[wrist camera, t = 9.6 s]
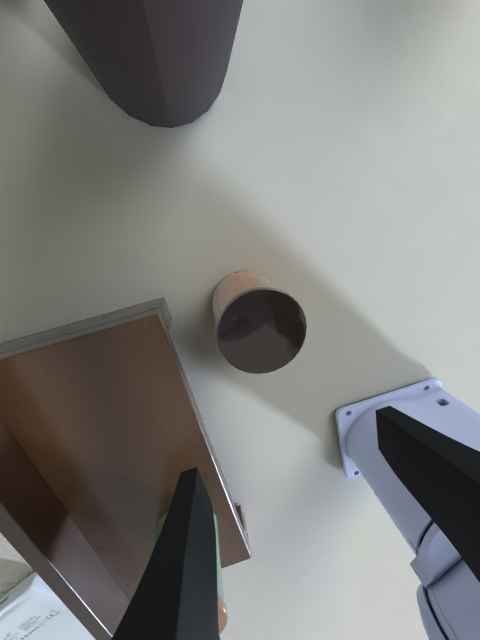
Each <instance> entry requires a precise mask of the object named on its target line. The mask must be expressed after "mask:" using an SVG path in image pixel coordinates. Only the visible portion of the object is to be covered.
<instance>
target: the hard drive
mask: <svg viewBox="0 0 480 640" xmlns="http://www.w3.org/2000/svg"><path fill="white" fill-rule="evenodd" d="M0 640H96V639H95V638H94V637H93V636H92V635H91V634H90V633H89V632H88V630H87V629H86V628H85V627H84V626H83V625H82V624H81V623H80V621H79V620H78V619H77V618H76V617H75V616H74V615H73V614H72V612H71V611H70V610H69V609H68V608H67V607H66V606H65V605H64V603H63V602H62V601H61V600H60V599H59V598H58V597H57V595H56V594H55V593H54V592H53V591H52V590H51V589H50V588H49V586H48V585H47V584H46V583H45V582H44V581H43V580H42V579H41V577H40V576H39V575H38V574H37V573H36V572H35V571H34V572H33V573H31V574H30V575H29V576H28V577H26V578H25V579H24V580H22V581H21V582H20V583H18V584H17V585H16V586H15V587H13V588H12V589H11V590H10V591H8V592H7V593H6V594H4V595H3V596H2V597H1V598H0Z"/></svg>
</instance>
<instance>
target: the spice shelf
mask: <svg viewBox="0 0 480 640" xmlns="http://www.w3.org/2000/svg"><path fill="white" fill-rule="evenodd" d="M170 323H171V316H170V313H169V311H168V308H167V305H166V302H165V300H164V298H159V299H156V300H152V301H149V302H145V303H142V304H138V305H135V306H131V307H128V308H124V309H121V310H117V311H114V312H110V313H107V314H103V315H100V316H96V317H93V318H89V319H86V320H82V321H79V322H75V323H72V324H68V325H65V326H61V327H58V328H54V329H51V330H47V331H44V332H40V333H37V334H33V335H30V336H26V337H23V338H19V339H16V340H12V341H9V342H5V343H2V344H0V532H1V533H2V535H3V536H4V537H5V538H6V539H7V540H8V541H9V543H10V544H11V545H12V546H13V547H14V548H15V549H16V550H17V552H18V553H19V554H20V555H21V556H22V557H23V558H24V559H25V561H26V562H27V563H28V564H29V565H30V566H31V567H32V568H33V570H34V571H35V572H36V573H37V574H38V575H39V576H40V577H41V579H42V580H43V581H44V582H45V583H46V584H47V585H48V586H49V588H50V589H51V590H52V591H53V592H54V593H55V594H56V595H57V597H58V598H59V599H60V600H61V601H62V602H63V603H64V605H65V606H66V607H67V608H68V609H69V610H70V611H71V612H72V614H73V615H74V616H75V617H76V618H77V619H78V620H79V621H80V623H81V624H82V625H83V626H84V627H85V628H86V629H87V630H88V632H89V633H90V634H91V635H92V636H93V637H94V638H95V639H96V640H111V639H112V637H113V635H114V633H115V631H116V629H117V627H118V625H119V623H120V621H121V619H122V617H123V616H124V614H125V612H126V610H127V607H128V605H129V603H130V601H131V599H132V597H133V595H134V593H135V591H136V589H137V587H138V584H139V582H140V580H141V578H142V576H143V573H144V571H145V569H146V566H147V564H148V562H149V559H150V557H151V554H152V552H153V550H154V542H155V534H156V526H157V523H158V521H159V520H160V518H161V517H162V516H163V515H164V514H165V513H166V512H168V510H169V507H170V504H171V501H172V498H173V495H174V492H175V489H176V485H177V482H178V479H179V475H180V473H181V472H183V471H186V470H189V469H192V468H195V467H197V468H198V470H199V472H200V475H201V477H202V480H203V482H204V485H205V487H206V490H207V492H208V494H209V497H210V499H211V502H212V506H213V513H214V514H215V515H216V517H217V522H218V534H219V546H220V558H221V568H224V567H227V566H230V565H233V564H236V563H239V562H241V561H244V560H247V559H250V558H251V552H250V547H249V541H248V535H247V529H246V524H245V518H244V514H243V512H242V509H241V506H237V507H235V505H234V503H233V500H232V497H231V495H230V492H229V489H228V487H227V484H226V481H225V479H224V476H223V473H222V471H221V468H220V466H219V463H218V460H217V458H216V455H215V452H214V450H213V447H212V444H211V442H210V439H209V436H208V434H207V431H206V429H205V426H204V423H203V421H202V418H201V415H200V413H199V410H198V407H197V405H196V402H195V399H194V397H193V394H192V392H191V389H190V386H189V384H188V381H187V378H186V376H185V373H184V370H183V368H182V365H181V363H180V360H179V357H178V355H177V352H176V349H175V347H174V344H173V341H172V339H171V336H170V333H169V328H170Z"/></svg>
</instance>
